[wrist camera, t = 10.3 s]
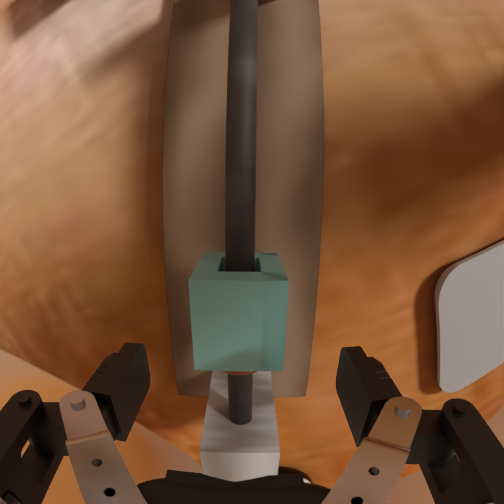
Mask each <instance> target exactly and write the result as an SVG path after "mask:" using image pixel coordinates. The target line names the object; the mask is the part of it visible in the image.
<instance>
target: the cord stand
mask: <svg viewBox="0 0 504 504" xmlns="http://www.w3.org/2000/svg"><path fill="white" fill-rule="evenodd" d="M323 164H324V105H323V69H322V47H321V30H320V16H319V3H318V0H174V5H173V13H172V21H171V29H170V38H169V48H168V59H167V71H166V85H165V101H164V123H163V175H162V179H163V232H164V254H165V272H166V287H167V300H168V311H169V322H170V332H171V341H172V350H173V359H174V367H175V374H176V382H177V389H178V395H188V396H204V397H208V401H207V408H206V414H205V420H204V426H203V433H202V439H201V445H200V457H201V463H202V469H203V474H205V475H208V476H212V477H216V478H220V479H224V480H228V481H233V482H236V481H243V480H248V479H254V478H259V477H264V476H268V475H277V474H278V466H279V458H280V447H279V438H278V429H277V421H276V412H275V404H274V397H300V396H306V389H307V382H308V374H309V366H310V358H311V349H312V340H313V331H314V321H315V310H316V299H317V287H318V274H319V260H320V244H321V225H322V202H323ZM204 252H225V272H254V270H255V253H278V255H279V258H280V260H281V263H282V265H283V267H284V270H285V272H286V275H287V277H288V280H289V289H288V307H287V324H286V339H285V354H284V367H283V371H208V370H195V366H194V355H193V343H192V329H191V315H190V298H189V278H190V276H191V275H192V273H193V271H194V269H195V268H196V266H197V264H198V262H199V261H200V259H201V257H202V255H203V254H204Z"/></svg>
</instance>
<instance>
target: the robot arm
mask: <svg viewBox="0 0 504 504" xmlns="http://www.w3.org/2000/svg"><path fill="white" fill-rule="evenodd" d="M149 386H150V372H149V367H148V361H147V355H146V350H145V346H144V345H143V344H137V343H125V344H124V345H123V347H122V348H121V350H120V351H119V352H118V353H113V354H111V355H110V356H108V357H106V358H105V359H104V361H103V362H102V363H101V365H100V367H98V369H97V370H96V373H94V374H93V376H92V377H91V378H90V380H89V381H88V382H87V384H86V385H85V387H84V388H83V389H82V391H81V390H79V391H73V392H70V393H68V394H66V395H65V396H63V397H62V398H61V400H60V402H42V399H41V397H40V395H39V394H38V393H37V392H35V391H33V390H23V391H20V392H18V393H16V394H15V395H13V396H12V397H11V398H10V400H9V401H8V402H7V403H6V404H5V406H4V407H3V408H2V409H1V411H0V504H42V501H43V499H44V497H45V495H46V492H47V490H48V488H49V486H50V484H51V482H52V479H53V477H54V475H55V473H56V471H57V469H58V467H59V465H60V463H61V460H62V459H63V456H69V457H70V461H71V464H72V467H73V470H74V473H75V476H76V479H77V482H78V485H79V488H80V491H81V493H82V496H83V498H84V501H85V503H86V504H387V503H388V502H389V499H390V497H391V495H392V493H393V491H394V489H395V487H396V484H397V482H398V480H399V478H400V475H401V473H402V471H403V468H404V466H405V464H419V465H420V467H421V470H422V472H423V475H424V477H425V479H426V482H427V484H428V487H429V489H430V492H431V494H432V497H433V499H434V502H435V504H504V448H503V446H502V445H501V443H500V442H499V440H498V439H497V437H496V436H495V434H494V433H493V432H492V430H491V429H490V427H489V426H488V425H487V423H486V422H485V420H484V419H483V418H482V416H481V415H480V413H479V412H478V411H477V409H476V408H475V407H474V406H473V404H471V403H470V402H468V401H466V400H463V399H450V400H448V401H447V402H445V403H444V405H443V408H442V410H422V408H421V406H420V404H419V403H418V402H416V401H415V400H413V399H411V398H407V397H403V396H402V395H401V393H400V392H399V390H398V388H397V387H396V385H395V384H394V382H393V380H392V379H391V378H390V376H389V374H388V373H387V372H386V370H385V368H384V366H383V365H382V363H381V362H379V361H378V360H376V359H375V358H373V357H367V356H366V354H365V352H364V351H363V349H362V348H361V347H360V346H356V347H343V348H342V349H341V353H340V359H339V365H338V371H337V376H336V390H337V394H338V396H339V399H340V402H341V404H342V407H343V410H344V413H345V415H346V418H347V421H348V424H349V426H350V429H351V432H352V435H353V438H354V440H355V443H356V446H357V447H359V448H358V449H357V451H356V453H355V454H354V456H353V457H352V459H351V461H350V462H349V464H348V465H347V467H346V469H345V470H344V472H343V473H342V475H341V476H340V478H339V479H338V481H337V482H336V484H335V485H334V486H333V488H332V489H328V488H326V487H323V486H320V485H317V484H312V483H306V482H304V479H303V474H290V475H268V476H264V477H259V478H254V479H248V480H243V481H236V482H233V481H228V480H224V479H220V478H216V477H212V476H208V475H205V474H201V473H193V472H182V471H175V470H167V474H166V478H160V479H154V480H149V481H146V482H143V483H140V484H138V485H136V483H135V482H134V480H133V478H132V476H131V474H130V472H129V471H128V469H127V467H126V465H125V463H124V461H123V459H122V457H121V455H120V453H119V451H118V449H117V447H116V445H115V442H114V441H115V440H120V441H126V439H127V437H128V435H129V432H130V430H131V428H132V425H133V423H134V421H135V419H136V416H137V414H138V412H139V410H140V407H141V405H142V403H143V401H144V398H145V396H146V394H147V392H148V389H149ZM27 441H29V443H30V444H29V446H28V448H27V449H26V451H25V453H24V454H23V456H22V458H21V451H22V449H23V447H24V445H25V444H26V442H27ZM455 453H456V454H455ZM456 455H457V456H456ZM457 457H458V458H457ZM458 459H459V460H458ZM459 461H460V462H459Z"/></svg>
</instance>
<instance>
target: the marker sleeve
mask: <svg viewBox="0 0 504 504" xmlns="http://www.w3.org/2000/svg"><path fill="white" fill-rule="evenodd" d="M288 289H289V280H288V277H287V275H286V272H285V270H284V267H283V265H282V263H281V260H280V258H279V255H278V253H255V270H254V272H225V252H204V254H203V255H202V257H201V259H200V261H199V262H198V264H197V266H196V268H195V269H194V271H193V273H192V275H191V276H190V278H189V298H190V315H191V329H192V343H193V355H194V366H195V370H208V371H283V367H284V354H285V339H286V324H287V307H288Z"/></svg>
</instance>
